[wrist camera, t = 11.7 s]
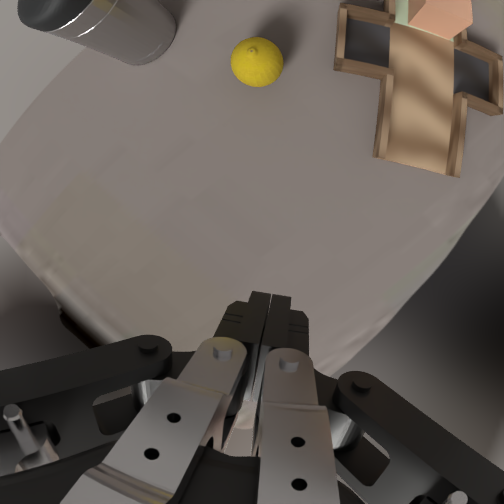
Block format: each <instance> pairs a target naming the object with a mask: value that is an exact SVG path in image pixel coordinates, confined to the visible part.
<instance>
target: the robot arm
mask: <svg viewBox="0 0 504 504" xmlns="http://www.w3.org/2000/svg"><path fill="white" fill-rule="evenodd" d="M18 15H19V18H20V20H21V22H22V23H24V24H25V25H26V26H28V27H30V28H33V29H37V30H40V31H43V32H46V33H50V34H52V35H55V36H58V37H62V38H64V39H67V40H70V41H73V42H75V43H78V44H81V45H84V46H86V47H89V48H91V49H94V50H96V51H99V52H101V53H104V54H106V55H109V56H111V57H113V58H116V59H118V60H120V61H123V62H125V63H127V64H131V65H142V64H146V63H149V62H151V61H153V60H155V59H157V58H158V57H159V56H161V55H162V54H163V53H164V52H165V51H166V50H167V48H168V47H169V46H170V44H171V43H172V41H173V38H174V36H175V31H176V23H175V20H174V17H173V16H172V14H171V13H170V12H169V11H168V10H167V9H166V8H165V7H164V6H162V5H161V4H160V3H159V2H158V1H157V0H18ZM270 298H271V294H269V293H263V292H257V291H252V293H251V296H250V298H249V301H248V303H247V302H241V301H235V302H234V303H232V304H230V305H229V306H228V307H227V310H226V312H225V314H224V316H223V318H222V320H221V322H220V324H219V326H218V328H217V330H216V332H215V334H214V336H213V338H209V339H207V340H205V341H203V342H202V343H201V345H200V346H199V347H198V349H197V350H196V351H192V352H172V346H171V344H170V343H169V341H167V340H166V339H164V338H162V337H160V336H156V335H141V336H137V337H133V338H129V339H126V340H122V341H119V342H115V343H111V344H108V345H104V346H100V347H96V348H93V349H89V350H85V351H81V352H77V353H73V354H69V355H65V356H61V357H57V358H54V359H49V360H45V361H41V362H37V363H32V364H28V365H24V366H20V367H15V368H11V369H6V370H2V371H0V504H365V503H364V502H363V501H362V500H361V499H360V498H359V497H358V496H357V495H356V494H355V493H354V492H353V491H352V490H351V489H350V488H348V487H347V486H346V485H344V484H343V483H341V482H340V481H338V480H337V474H338V475H339V476H340V477H341V478H342V479H343V480H344V481H345V482H346V483H347V484H348V485H349V486H350V487H351V488H352V489H353V490H354V491H355V492H356V493H357V494H358V495H359V496H360V497H361V498H362V499H363V500H364V501H366V502H367V503H368V504H504V471H503V470H501V469H500V468H499V467H497V466H496V465H494V464H493V463H491V462H490V461H489V460H487V459H486V458H484V457H483V456H482V455H480V454H479V453H477V452H476V451H474V450H473V449H472V448H470V447H469V446H467V445H466V444H465V443H464V442H462V441H461V440H459V439H458V438H457V437H455V436H454V435H453V434H451V433H450V432H448V431H447V430H446V429H444V428H443V427H442V426H440V425H439V424H437V423H436V422H435V421H433V420H432V419H431V418H429V417H428V416H426V415H425V414H424V413H423V412H421V411H420V410H419V409H417V408H416V407H415V406H413V405H412V404H410V403H409V402H408V401H407V400H405V399H404V398H403V397H401V396H400V395H399V394H397V393H396V392H395V391H393V390H392V389H391V388H389V387H388V386H387V385H385V384H384V383H383V382H381V381H380V380H379V379H377V378H376V377H374V376H373V375H371V374H368V373H365V372H361V371H350V372H346V373H344V374H342V375H341V376H340V377H339V379H338V380H337V379H334V378H331V377H328V376H326V375H323V374H321V373H320V372H318V371H317V370H316V369H314V367H313V362H312V360H311V358H310V357H309V335H308V334H309V328H308V327H309V319H308V318H307V316H306V315H305V314H304V312H303V311H297V310H290V306H291V297H288V296H282V295H275V294H273V295H272V299H271V304H270ZM269 305H270V308H269ZM268 311H269V313H268ZM256 373H257V375H256ZM255 377H256V381H255ZM254 382H255V387H254V393H253V399H252V401H255V402H258V403H257V408H256V414H255V419H254V427H253V437H252V448H251V456H249V457H233V456H229V455H226V454H224V451H225V449H226V446H227V444H228V441H229V439H230V436H231V433H232V431H233V429H234V426H235V424H236V421H237V418H238V414H239V410H240V409H241V407H242V403H243V400H249V401H250V399H251V395H252V390H253V386H254ZM128 386H130V387H131V393H132V394H129V395H126V396H123V397H120V398H117V399H114V400H111V401H108V402H105V403H101V404H98V405H95V406H92V404H93V402H94V400H95V399H96V398H97V397H99V396H101V395H104V394H107V393H110V392H113V391H116V390H119V389H122V388H125V387H128ZM365 432H366V433H367V434H368V435H370V437H372V438H373V439H374V440H375V441H376V442H377V443H379V444H380V445H381V446H382V447H383V448H384V449H385V450H386V451H387V452H388V454H389V457H390V459H388V458H387V457H386V456H385V455H384V454H382V453H381V452H380V451H379V450H378V449H377V448H376V447H375V446H374V445H372V444H371V443H370V442H369V441H368V440H367V439H366V438H365V437H363V435H364V433H365ZM336 473H337V474H336Z"/></svg>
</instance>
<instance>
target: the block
mask: <svg viewBox="0 0 504 504" xmlns="http://www.w3.org/2000/svg"><path fill="white" fill-rule="evenodd" d="M471 24H473V20H472V5H471V0H408V25H411V26H414V27H417V28H420V29H423V30H425V31H428V32H431V33H433V34H436V35H438V36H441V37H443V38H446V39H448V40H450V39H451V38H453V37H454V36H455V35H457V34H458V33H460V32H461V31H463V30H464V29H465V28H467V27H468V26H470V25H471Z"/></svg>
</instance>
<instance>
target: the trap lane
mask: <svg viewBox="0 0 504 504" xmlns="http://www.w3.org/2000/svg"><path fill="white" fill-rule="evenodd" d="M453 41H454V42H452V41H450V40H447V39H444V38H442V37H439V36H436V35H433V34H430V33H428V32H425V31H421V30H418V29H415V28H412V27H409V26H405V25H402V24H398V23H395V0H384V12H382V11H378V10H374V9H370V8H365V7H360V6H355V5H350V4H345V3H340V6H339V10H338V19H337V34H336V47H335V59H334V70H335V71H341V72H346V73H351V74H356V75H361V76H366V77H371V78H375V79H379V80H381V83H380V95H379V106H378V116H377V125H376V134H375V142H374V150H373V157H374V158H379V159H383V160H388V161H392V162H397V163H401V164H405V165H409V166H414V167H418V168H422V169H426V170H429V171H433V172H437V173H441V174H444V175H448V176H452V177H457V178H460V171H461V164H462V157H463V148H464V139H465V128H466V115H467V106H468V107H470V108H473V109H476V110H478V111H481V112H483V113H485V114H488V115H490V116H494V115H501V114H503V62H502V56H500V55H498V54H497V53H494V52H492V51H490V50H488V49H486V48H484V47H482V46H480V45H478V44H475V43H473V42H471V41H469V40H467V30H466V28H465V29H464V30H463V31H461V32H460V33H458V34H457V35H455V36H454V37H453Z"/></svg>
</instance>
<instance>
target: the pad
mask: <svg viewBox="0 0 504 504" xmlns="http://www.w3.org/2000/svg"><path fill="white" fill-rule="evenodd" d="M395 23H398V24H402V25H405V26H409V27H412V28H415V29H418V30H421V31H425V30H423V29H420V28H417V27H414V26H411V25H408V0H395ZM425 32H428V31H425ZM428 33H430V34H433V33H431V32H428ZM433 35H436V34H433ZM436 36H438V35H436ZM439 37H441V36H439ZM442 38H443V37H442ZM444 39H446V38H444ZM447 40H448V39H447ZM450 41H452V42H454V41H453V38H451V39H450Z"/></svg>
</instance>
